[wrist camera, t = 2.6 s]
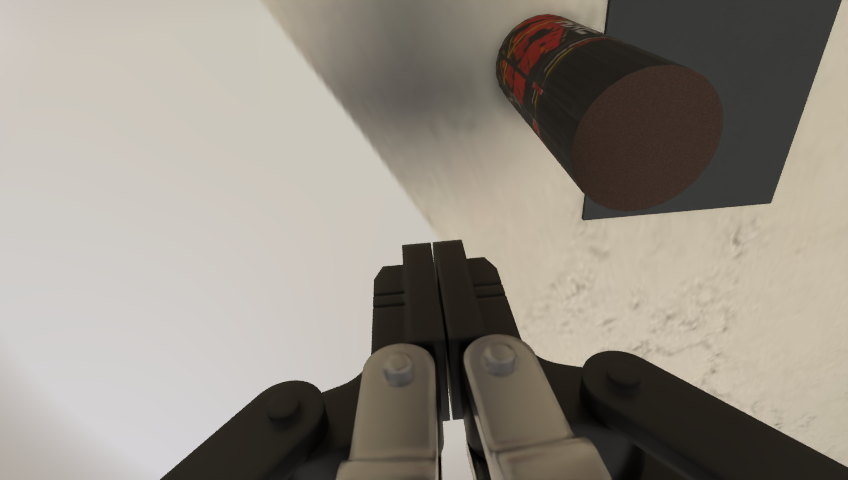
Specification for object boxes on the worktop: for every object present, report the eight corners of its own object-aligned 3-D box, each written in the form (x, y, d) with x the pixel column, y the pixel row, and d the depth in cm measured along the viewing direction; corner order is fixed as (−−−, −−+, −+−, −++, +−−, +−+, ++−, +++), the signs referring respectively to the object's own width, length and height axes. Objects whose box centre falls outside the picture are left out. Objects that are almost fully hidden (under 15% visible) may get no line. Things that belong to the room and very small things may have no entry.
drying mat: (619, -88, 27) (621, -89, 27) (875, -107, 28) (879, -108, 28) (581, 218, 38) (583, 220, 38) (768, 201, 38) (771, 203, 38)
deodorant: (583, 3, 30) (732, 46, 17) (587, 97, 33) (715, 193, 20) (489, 27, 30) (566, 86, 17) (502, 118, 33) (575, 225, 20)
